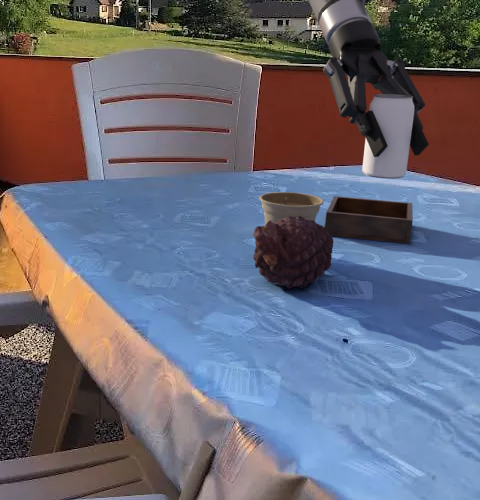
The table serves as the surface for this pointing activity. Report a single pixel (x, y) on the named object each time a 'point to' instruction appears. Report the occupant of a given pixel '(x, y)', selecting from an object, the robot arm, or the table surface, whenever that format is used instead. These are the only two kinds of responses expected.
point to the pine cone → (292, 251)
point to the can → (390, 136)
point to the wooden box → (370, 219)
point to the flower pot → (289, 205)
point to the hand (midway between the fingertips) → (401, 150)
